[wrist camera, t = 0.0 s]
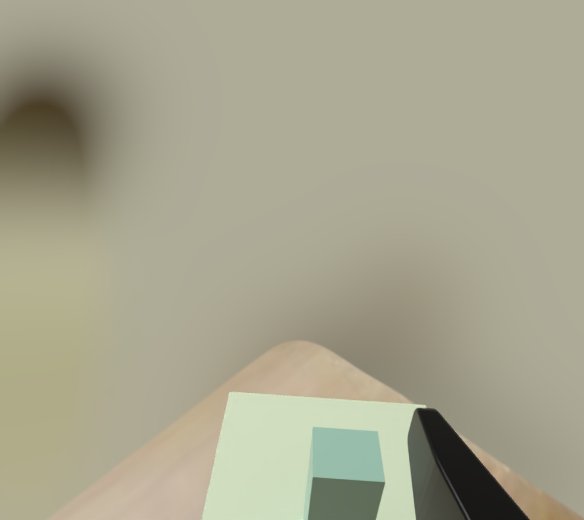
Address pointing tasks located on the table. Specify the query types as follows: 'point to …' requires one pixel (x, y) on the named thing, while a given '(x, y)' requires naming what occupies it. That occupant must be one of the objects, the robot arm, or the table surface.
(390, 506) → the lid
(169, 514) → the table surface
